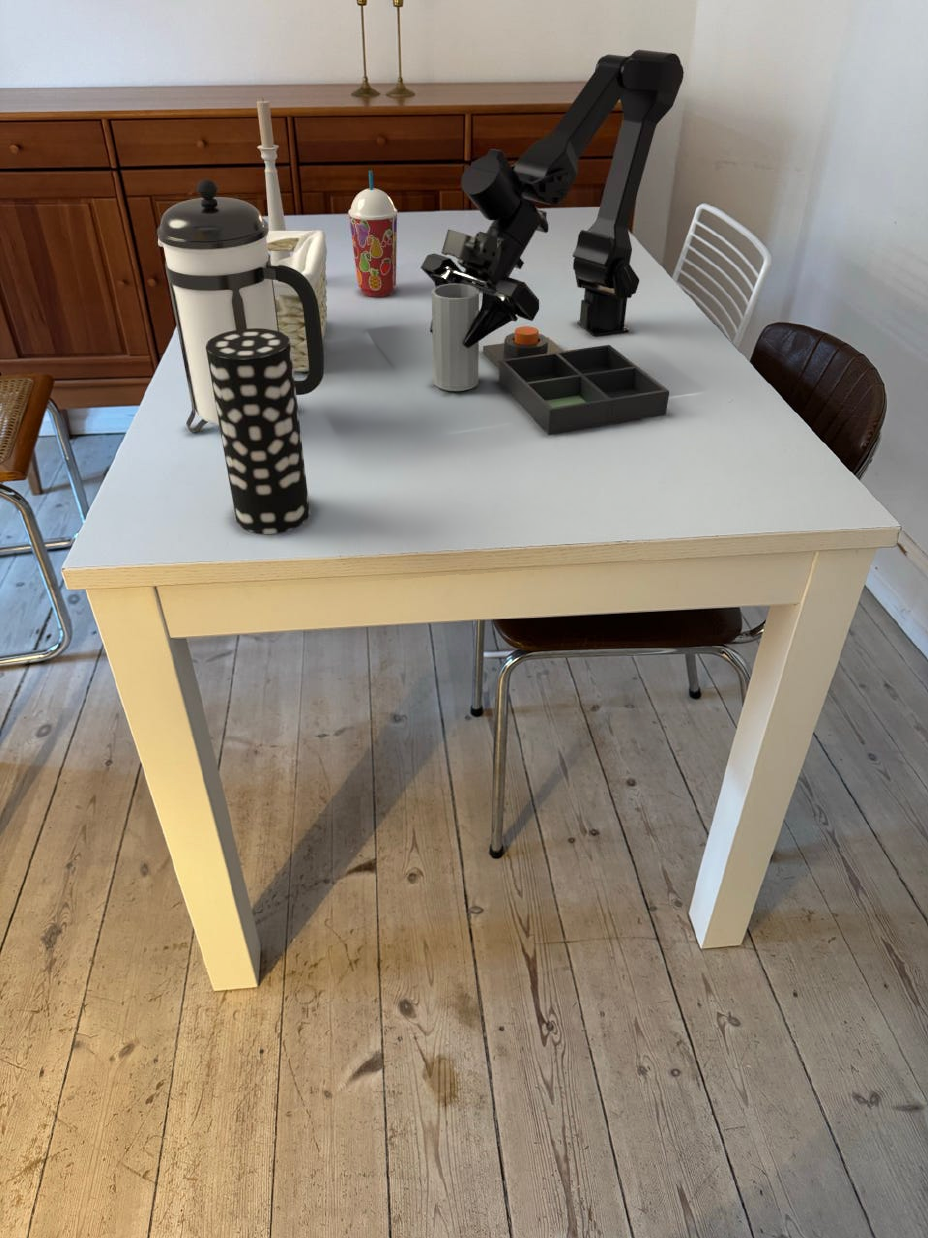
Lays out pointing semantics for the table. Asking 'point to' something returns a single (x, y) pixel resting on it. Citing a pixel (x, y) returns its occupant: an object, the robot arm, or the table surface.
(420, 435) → the table surface
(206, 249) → the coffee press
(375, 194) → the smoothie
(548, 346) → the block
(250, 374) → the spotted tube
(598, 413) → the divided tray
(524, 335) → the button
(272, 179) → the candlestick
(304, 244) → the basket
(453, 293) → the tumbler
